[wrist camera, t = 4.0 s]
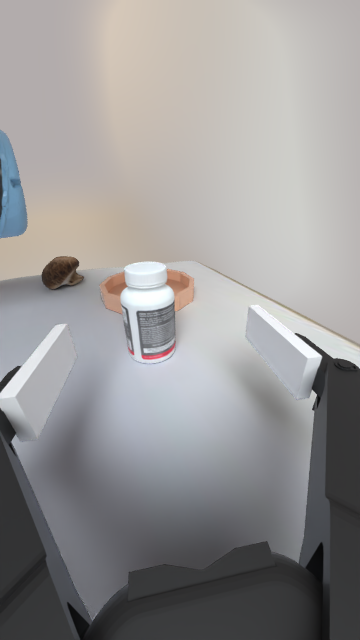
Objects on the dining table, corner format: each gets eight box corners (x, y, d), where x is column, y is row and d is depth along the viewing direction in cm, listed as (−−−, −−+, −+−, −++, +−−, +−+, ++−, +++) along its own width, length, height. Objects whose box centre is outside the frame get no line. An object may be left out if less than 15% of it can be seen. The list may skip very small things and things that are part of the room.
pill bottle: (182, 341, 26) (182, 262, 21) (163, 370, 22) (158, 279, 17) (143, 333, 28) (135, 257, 23) (119, 358, 24) (102, 272, 19)
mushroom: (97, 265, 43) (71, 241, 40) (78, 293, 39) (46, 268, 35) (77, 278, 48) (51, 257, 45) (57, 304, 43) (27, 283, 40)
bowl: (83, 299, 37) (80, 286, 36) (146, 274, 48) (145, 264, 47) (154, 326, 29) (153, 311, 28) (209, 289, 41) (209, 277, 39)
